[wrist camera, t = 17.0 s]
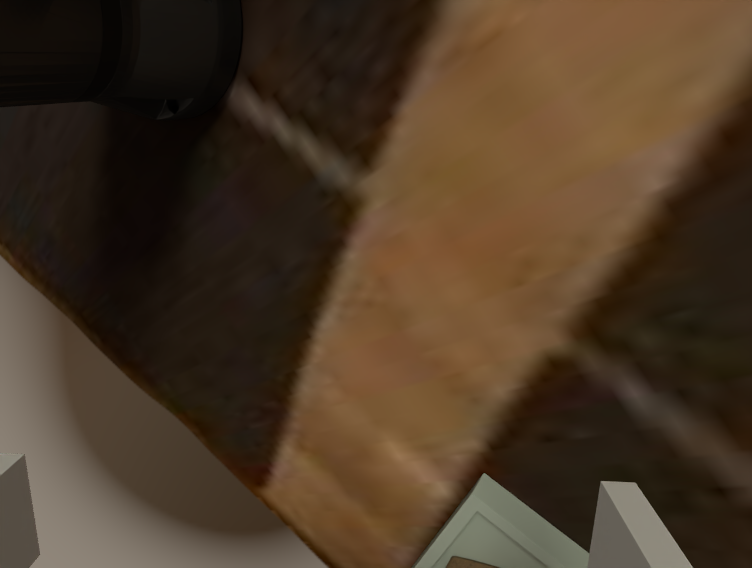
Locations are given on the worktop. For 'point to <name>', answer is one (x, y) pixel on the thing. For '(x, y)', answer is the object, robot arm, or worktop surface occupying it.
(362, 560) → the worktop surface
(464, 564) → the candle holder
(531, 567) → the tray
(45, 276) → the worktop surface
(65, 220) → the worktop surface
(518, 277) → the worktop surface
